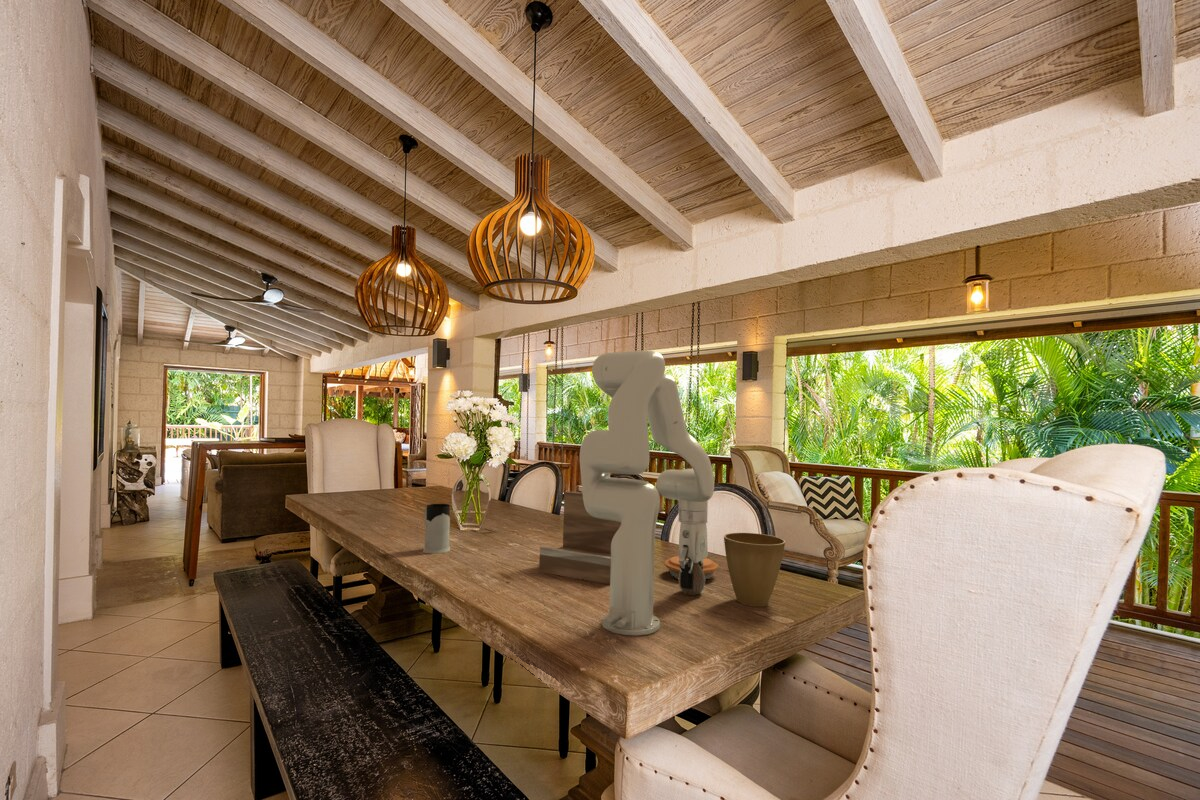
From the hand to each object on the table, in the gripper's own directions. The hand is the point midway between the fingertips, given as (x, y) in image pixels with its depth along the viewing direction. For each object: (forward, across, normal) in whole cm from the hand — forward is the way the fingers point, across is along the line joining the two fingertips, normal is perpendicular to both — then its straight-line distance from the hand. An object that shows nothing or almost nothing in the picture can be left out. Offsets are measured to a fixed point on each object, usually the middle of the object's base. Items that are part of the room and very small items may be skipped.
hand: (691, 584), depth 147 cm
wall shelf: (+2, +1, +33) cm, 33 cm away
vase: (+3, 0, 0) cm, 3 cm away
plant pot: (+3, +2, -16) cm, 16 cm away
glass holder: (+3, -2, +91) cm, 91 cm away
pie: (+3, +16, +6) cm, 17 cm away
